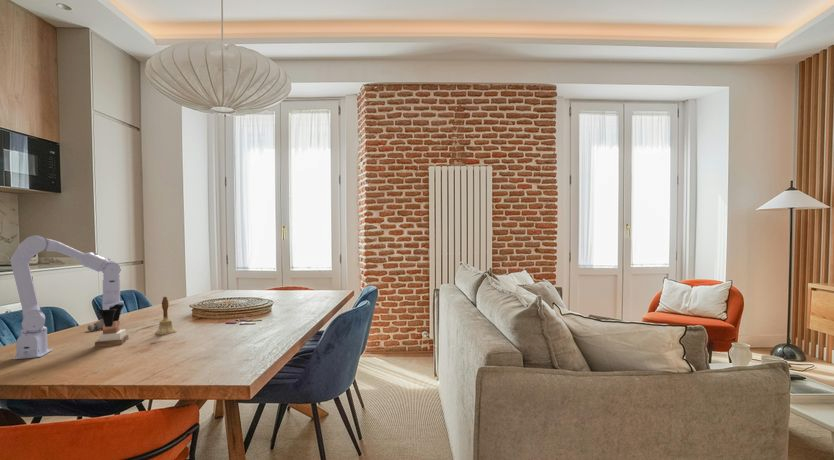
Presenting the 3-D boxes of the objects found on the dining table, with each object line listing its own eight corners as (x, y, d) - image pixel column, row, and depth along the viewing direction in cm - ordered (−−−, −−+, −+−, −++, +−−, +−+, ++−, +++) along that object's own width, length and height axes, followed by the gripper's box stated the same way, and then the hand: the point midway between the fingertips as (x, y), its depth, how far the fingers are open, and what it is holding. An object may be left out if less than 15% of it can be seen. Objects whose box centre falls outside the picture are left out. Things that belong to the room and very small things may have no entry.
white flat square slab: (120, 339, 168) (119, 333, 168) (99, 341, 166) (99, 334, 166) (125, 335, 175) (125, 329, 175) (106, 336, 173) (105, 330, 173)
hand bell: (174, 333, 184) (174, 297, 184) (152, 335, 181) (152, 298, 181) (177, 329, 192) (177, 294, 192) (156, 331, 189) (156, 296, 189)
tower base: (122, 346, 168) (121, 339, 168) (94, 348, 164) (94, 342, 164) (128, 340, 176) (128, 334, 176) (102, 342, 173) (102, 336, 173)
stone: (88, 334, 188) (103, 322, 190) (82, 325, 190) (97, 313, 191) (105, 334, 198) (119, 323, 199) (99, 326, 199) (113, 314, 200)
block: (116, 332, 169) (116, 323, 169) (103, 334, 167) (102, 324, 167) (119, 330, 173) (119, 320, 173) (106, 331, 171) (106, 321, 171)
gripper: (117, 293, 165) (118, 327, 165) (128, 288, 178) (128, 320, 178) (95, 294, 162) (96, 329, 162) (108, 289, 176) (109, 321, 176)
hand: (112, 324), depth 170 cm, fingers open, 7 cm apart
